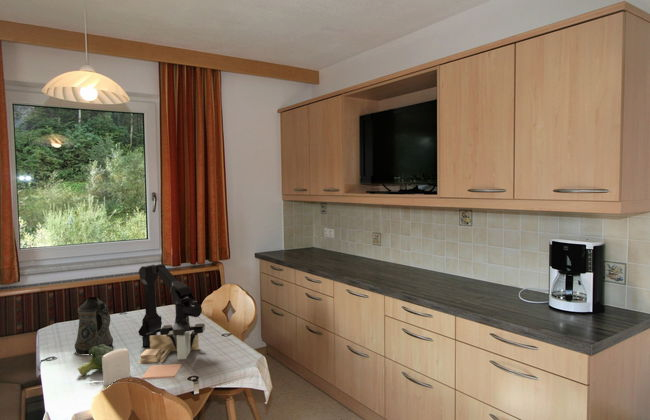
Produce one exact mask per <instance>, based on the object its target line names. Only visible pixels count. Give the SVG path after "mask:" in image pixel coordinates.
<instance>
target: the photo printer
mask: <svg viewBox="0 0 650 420" xmlns="http://www.w3.org/2000/svg"><path fill="white" fill-rule="evenodd" d="M129 352H130V351H129V350H128V349H127V348H117V349H114V350H113V351H111V352H109V353H107V354H105V355H104V356H103V357H102V368H103V373H102V379H103V385H104V386H110V385H112V384H111V383H113V382H114V381H115V380H117V379H119V378H123V377H128V378H130V377H131V362H130V360H131V359H130V353H129ZM113 384H114V383H113Z"/></svg>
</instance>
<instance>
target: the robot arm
mask: <svg viewBox="0 0 650 420" xmlns="http://www.w3.org/2000/svg"><path fill="white" fill-rule="evenodd" d="M138 275H139V280H140V281H141V282H142V284H143V291H144V306H145V307H144V309H145V310H144V311H145V314H144V316H143V318H142V321H141V322H142V325H141V327H140V328H139V330H138V331H137V332H138V335H139V336H141V338H142V340H141V341H142V346H141V348H142V349H144V348H145V349H146V348H147V349H149V348H150V336H152V335H158V333H159V335H166V336H167V337H170V338H171V340H172V342H173V344H174V346H175V348H177V336H176V335H184V334H185V332H186V331H190V335H191V343H190V346H191V348H192V345H193V342H194V339H195V336H196V335H197V334H198V335H199V334H203V333H204V332H205V330H206V325H205V323H203V322H202V323H196V324H195V325H193V326H192V325H191V323H190V317H192V318H199V317H200V315H201V314H202V312H203V307H202V306H201V304H200V303H199V301H197V300H196V298H195V295H194V294H193V292H192V290H191V288H190V286H188V285H187V284H186V283H185V282H182V281H179V280H178V279H177V278H176V277H175V276H174V275H173V273H172V272H170V270H168V268H167V267H166V265H165V264H164V263H159V264H154V263H153V264H149V265H142V266H141V267H140V268H139V269H138ZM158 279H160V280H161V281H162V283H164V285H166V286H167V288H168V289H169V294H170V295H171V297H172V298H173V301H172V304H174V306H175V308H174V309H175V320H174V324H173V325H172V324H169V325H167V324H165V325H163V322H162V316H161V315H159V313H158V311H157V297H156V282H157V280H158ZM162 325H163V326H162Z"/></svg>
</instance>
